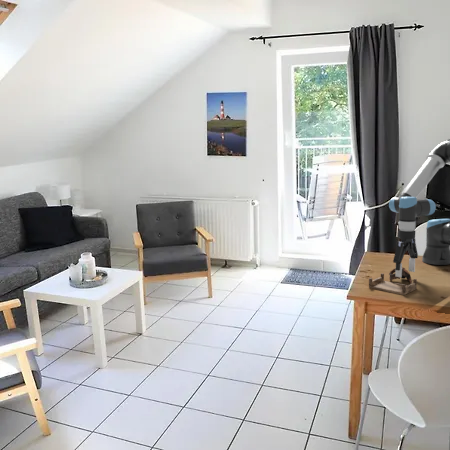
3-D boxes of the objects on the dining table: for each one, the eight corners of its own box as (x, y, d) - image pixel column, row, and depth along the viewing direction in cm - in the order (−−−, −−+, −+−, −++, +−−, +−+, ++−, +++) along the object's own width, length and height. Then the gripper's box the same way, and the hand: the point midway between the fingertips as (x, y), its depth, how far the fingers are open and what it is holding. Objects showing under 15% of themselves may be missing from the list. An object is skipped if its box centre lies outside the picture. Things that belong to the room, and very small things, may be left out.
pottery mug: (412, 286, 225) (404, 271, 224) (393, 292, 230) (385, 278, 230) (415, 274, 235) (407, 260, 234) (396, 280, 240) (388, 266, 239)
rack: (381, 282, 233) (381, 273, 232) (416, 288, 221) (416, 279, 220) (368, 288, 225) (369, 278, 224) (404, 295, 213) (404, 285, 212)
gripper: (411, 225, 239) (409, 268, 242) (386, 232, 222) (384, 277, 225) (426, 227, 233) (424, 270, 237) (402, 234, 216) (400, 280, 219)
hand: (405, 274), depth 231 cm, fingers open, 13 cm apart
